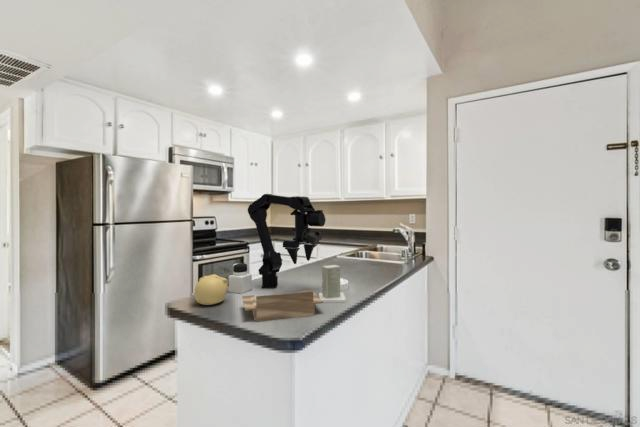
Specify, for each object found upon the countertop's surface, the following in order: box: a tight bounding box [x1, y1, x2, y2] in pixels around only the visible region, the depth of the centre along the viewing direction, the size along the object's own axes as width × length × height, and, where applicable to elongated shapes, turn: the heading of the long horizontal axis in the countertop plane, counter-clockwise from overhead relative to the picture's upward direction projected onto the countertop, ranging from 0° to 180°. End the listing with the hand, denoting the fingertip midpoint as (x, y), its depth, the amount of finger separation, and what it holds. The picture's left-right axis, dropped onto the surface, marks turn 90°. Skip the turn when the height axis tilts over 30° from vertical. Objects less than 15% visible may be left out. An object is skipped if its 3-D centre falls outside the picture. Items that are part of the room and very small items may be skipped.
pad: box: [318, 291, 347, 304], centre depth 127 cm, size 10×10×1 cm
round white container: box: [321, 277, 349, 292], centre depth 144 cm, size 12×12×4 cm
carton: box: [241, 289, 324, 322], centre depth 113 cm, size 16×26×8 cm, turn 107°
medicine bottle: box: [228, 262, 253, 294], centre depth 139 cm, size 7×7×12 cm
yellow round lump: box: [194, 273, 229, 306], centre depth 122 cm, size 11×12×11 cm
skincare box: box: [321, 264, 341, 298], centre depth 126 cm, size 6×4×12 cm
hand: (301, 262), depth 136 cm, fingers open, 9 cm apart
